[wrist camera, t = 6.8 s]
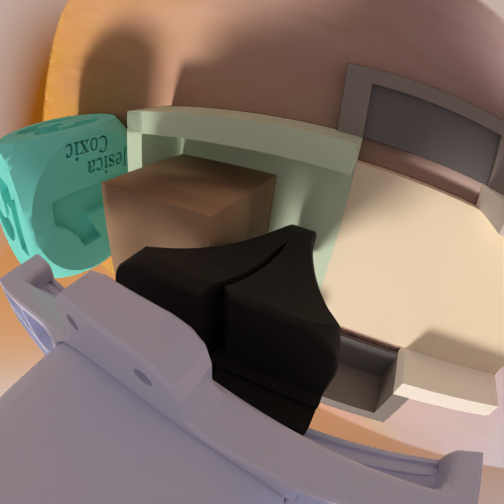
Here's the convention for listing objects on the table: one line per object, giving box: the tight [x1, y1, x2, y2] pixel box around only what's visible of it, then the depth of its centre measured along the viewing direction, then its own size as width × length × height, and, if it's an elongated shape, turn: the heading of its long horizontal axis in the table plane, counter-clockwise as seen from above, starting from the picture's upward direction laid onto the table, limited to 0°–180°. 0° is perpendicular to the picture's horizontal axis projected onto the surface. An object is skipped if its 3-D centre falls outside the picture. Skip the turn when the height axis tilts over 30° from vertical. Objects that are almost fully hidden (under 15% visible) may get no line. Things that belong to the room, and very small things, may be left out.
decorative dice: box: [0, 114, 128, 278], centre depth 14 cm, size 8×8×8 cm
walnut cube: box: [101, 154, 277, 275], centre depth 12 cm, size 5×5×5 cm
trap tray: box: [127, 63, 504, 422], centre depth 11 cm, size 22×16×3 cm
